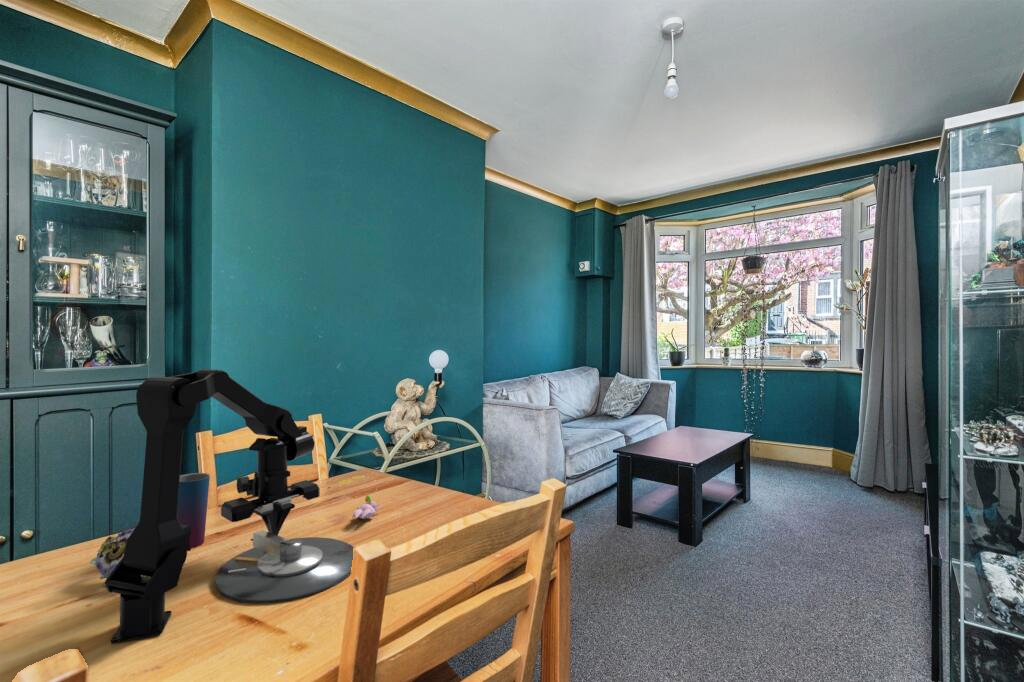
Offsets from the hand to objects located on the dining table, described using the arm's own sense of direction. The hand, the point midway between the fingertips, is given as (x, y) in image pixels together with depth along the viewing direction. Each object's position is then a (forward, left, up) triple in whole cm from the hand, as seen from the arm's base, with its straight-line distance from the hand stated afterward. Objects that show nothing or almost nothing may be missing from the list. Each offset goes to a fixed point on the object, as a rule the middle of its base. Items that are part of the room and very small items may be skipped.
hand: (273, 538), depth 105 cm
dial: (-7, -2, -2) cm, 7 cm away
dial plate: (-9, -4, -3) cm, 10 cm away
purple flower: (+15, -21, -4) cm, 26 cm away
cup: (+11, +17, -3) cm, 21 cm away
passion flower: (-2, +24, -4) cm, 24 cm away
